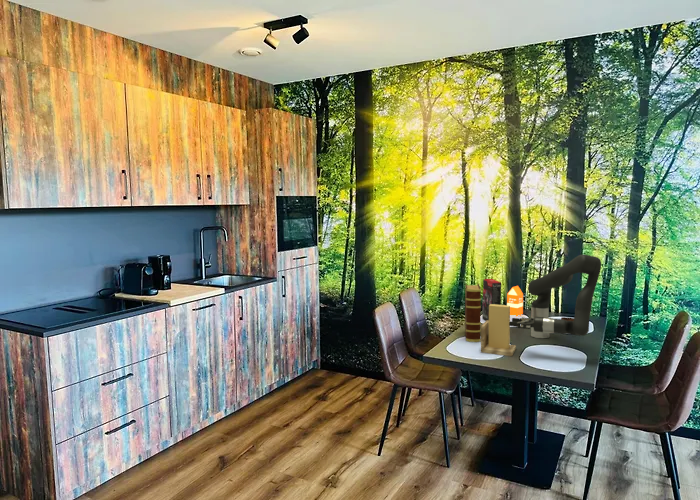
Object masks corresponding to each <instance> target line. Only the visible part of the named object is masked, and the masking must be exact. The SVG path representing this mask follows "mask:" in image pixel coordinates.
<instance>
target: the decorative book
mask: <svg viewBox="0 0 700 500" xmlns="http://www.w3.org/2000/svg"><path fill="white" fill-rule="evenodd" d="M464 290H465V291H464V293H465V295H464V304H465V305H464V309H465V310H464V312H465V313H464V331H465V332H464V333H465V341H466V342H470V343H481V325H482V323H481V315H482V314H481V312H482V311H481V309H482V305H481V301H482V298H481V294H482V288H481V286H480V284H479V283H477V284H476V285H475V284H474V285H472V284H471V285H470V284H469V285H468V284H465V287H464Z"/></svg>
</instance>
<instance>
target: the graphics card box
mask: <svg viewBox="0 0 700 500" xmlns="http://www.w3.org/2000/svg"><path fill="white" fill-rule="evenodd" d="M482 285H483V286H482V314H481V315H482V316H481V317H482V319H483V320H485V321H486V320H488V321H489V305H490V304H495V305H502V281H498V280H497V279H493V278H484V279H483V280H482Z"/></svg>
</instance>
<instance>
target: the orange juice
mask: <svg viewBox="0 0 700 500" xmlns="http://www.w3.org/2000/svg"><path fill="white" fill-rule="evenodd" d="M506 296H507V297H506V305H508V306H510V315H516V316H515V317H517V316H518V315H520V316H522V315H521V314H524V293H523V292H522V290H521V288H520V287H519V285H516V286H512V287H511V289H510V290H509V291H508V292H507V295H506ZM518 317H519V316H518Z"/></svg>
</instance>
